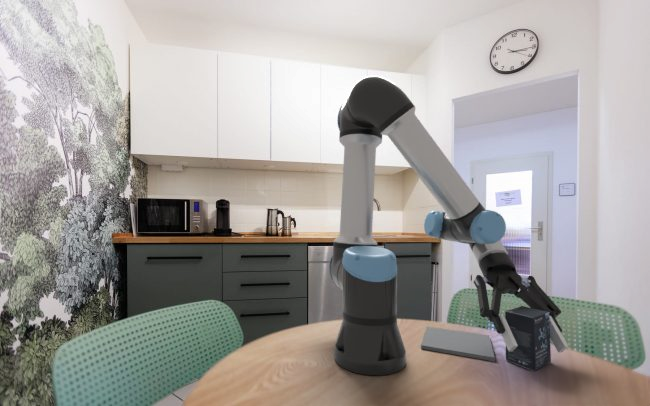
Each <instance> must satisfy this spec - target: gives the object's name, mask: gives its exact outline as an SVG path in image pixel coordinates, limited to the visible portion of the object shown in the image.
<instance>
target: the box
mask: <svg viewBox="0 0 650 406" xmlns="http://www.w3.org/2000/svg"><path fill="white" fill-rule="evenodd" d="M504 312H505V313H504V316H505V319H506V321H507V323H508V325H509V327H510V330H511V332H512V334H513V336H514V338H515V340H516V343H517V345H518V346H517V347H516V348H515V349H514V350H513V351H508V349H507V346H506V345H505V361H506V362H509V363H511V364H514V365H516V366H520V367H522V368H525V369H527V370H529V371H532V372H535V371H537V370H539V369H540V368H542V367H543V366H545V365H547V364H549V363H552V359H551V357H552V355H551V354H552V353H551V351H552V350H551V338H550V318H549V312H546V311H542V310H538V309H533V308H531V307H529V306H524V305H519V306H518V307H515V308H511V309H508V310H505V311H504Z"/></svg>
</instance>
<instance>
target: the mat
mask: <svg viewBox="0 0 650 406" xmlns="http://www.w3.org/2000/svg"><path fill="white" fill-rule="evenodd" d="M420 347H421V348H420V349H421V350H426V351H432V352H439V353H445V354H449V355H454V356H455V355H456V356H462V357H468V358H472V359H473V358H474V359H479V360H484V361H489V362H490V361H491V362H496V356H495V353H494V352H495V351H494V349H493V344H492V342H491V339H490V335H488V334H484V333H483V334H482V333H476V332H469V331H463V330H462V331H461V330H455V329H449V328H447V329H446V328H440V327H433V326H426V328H425V331H424V335H423V338H422V341H421V344H420Z"/></svg>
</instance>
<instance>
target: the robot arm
mask: <svg viewBox="0 0 650 406" xmlns="http://www.w3.org/2000/svg"><path fill="white" fill-rule="evenodd" d="M415 113H416V106H415V105H414V103H413V102H412V101H411V100H410V98H409V96H407V94H406V93H405V92H404V90H402V88H400V87H399V86H398V85H397V84H395V83H394V82H393V81H391V80H390V79H388V78H385V77H383V76H378V75H369V76H365V77H362V78H361V79H359V80H358V81H357V82H356V83H354V84H353V86H352V87H351V88H350V90H349V93H348V95H347V97H346V99H345V100H344V101H343V102H342V104H341V106H340V108H339V110H338V114H337V127H338V129H339V130H338V131H339V139H338V141H339V143H340V144H341V145H342V146H343V148H344V149H343V164H342V165H343V167H342V184H341V186H342V188H341V203H340V204H341V205H340V218H339V219H340V222H339V226H340V227H339V233H338V236H337V237H335V238H334V240H333V246H332V247H333V248H332V255H331V257H330V259H329V263H328V269H329V270H328V271H329V275H330V278H331V280H332V282H333V284H334V285H335V286H336V287H337V288H338V289H339V290H341V292H342V321H341V324H340V328H339V329H338V330H339V331H338V334H337V336H336V337H337V338H336V340H335V343H334V348H333V349H334V350H333V351H334V352H333V353H334V354H333V357H334V361H335V363H337V364H338V366H340V367H342V368H343V369H344V370H347V371H350V372H352V373H355V374H360V375H366V376H367V375H368V376H385V375H392V374H395V373H398V372H399V371H401V370H403V368H405V366H406V364H407V363H406V362H407V351H406V347H405V345H404V340H403V338H402V335H401V332H400V328H399V325H398V271H399V270H398V264H397V257H396V255H395V253H394V252H393V250H392V251H391V250H389V249H387V248H384V247H378V242H377V240H375V239H374V238H373V224H374V223H373V219H374V202H375V201H374V198H375V197H374V196H375V179H376V178H375V176H376V156H377V148H378V147H379V146H380V145H381V144H382V143H383V136H387V137H388V138H389V140H390V141H391V142H392V143H393V145H394V147H396V149H397V150H398V151H399V153H400V154H401V155H402V157H403V158H404V160H406V162H407V163H408V165H409V166H410V168H411V169H412V170H413V172H415V174H416V175H417V177H418V179H420V180H421V182H422V184H424V186H425V187H426V188H427V190H428V191H429V192H430V194H432V196H433V198H434V199H435V200H436V202H437V203H438V204H439V205H440V207H441V208H442V210H432V211H429V212H428V213H427V215H425V216H426V217H425V219H424V224H423V226H424V227H423V229H424V232H425V234H426V235H427V237H430V238H433V239H436V240H444V241H450V242H457V243H461V244H466V245H469V247H470V250H471V252H472V254H473V255H474V258H475V260H476V262H477V264H478V267H479V269H480V271H481V274H482V275H480V274H477V275H476V276H475V278H474V280H473V284H474V286H475V287H476V288H475V289H476V291H477V292H476V293H477V300H478V301H477V302H478V307H479V314H480V317H481V318H487V319H488V321H489V322H490V323H493V326H494V329H495V331H496V333H497V334H500V335H501V336H502V339H503V342H504V344H505V347H506V346H507V349H508V351H513V350H514V349H515V348H516V347H517V346H518V345H517V343H516V340H515V338H514V336H513V334H512V332H511V330H510V327H509V325H508V323H507V321H506V319H505V314H500V309H501V302H502V296H503V295H505V294H509V295H514V296H515V298H517V299H521V301H522V302H524V303H525V304H526V305H527V307H529V308H533V309H538V310H542V311H546V312H549V318H550V341H551V342H552V344H553V345H554V347H555V349H556V352H558V353H563V352H564V351H566V349H568V348H569V347H570V345H568V343H567V341H566V340H565V337H564V336H563V333H562V332H563V329H562V326H560V324H559V322H558V321H557V319H556V318H558V316H560V315H561V313H562V310H561V309H560V308H559V307H558V306H557V305H556V304H555V302H554V301H553V300H552V299H551V297H549V296H548V294H547V293H546V292H545V291H544V290H543V288H541V287H540V286H539V284H538V283H537V281H536V279H535V277H534V276H532V275H528V277H523V276H521V275H520V274H519V273H518V272H517V269H516V266H515V263H514V262H513V260H512V258H511V257H510V255H509V253H508V250H507V249H506V247H505V245H504V244H503V242H502V241H501V240H502V238H503V237H504V236H505V234H506V230H507V224H506V221H505V218H504V217H503V215H501V213H498V212H497V211H494V210H491V209H486V208H485V207H484V206H483V204H482V203H481V202H480V200H479V199H478V198H477V196H476V195H475V194H474V193H473V191H472V190H471V189H470V187H469V186H468V185H467V183H466V182H465V180H464V179H463V178H462V176H461V175H460V174H459V172H458V171H457V170H456V168H455V167H454V166H453V164H452V163H451V161H450V160H449V158H447V156H446V155H445V153H444V152H443V151H442V149H441V148H440V146H439V145H438V143H436V140H434V138H433V137H432V136H431V134H430V133H429V132H428V130H427V129H426V128H425V126H424V125H423V124H422V122H421V121H420V120H419V118H418V117H417V116H416V114H415ZM486 284H487V285H489V287H491V288H492V293H491V296H492V297H491V303H490V302H489V297H488V290H487V285H486Z"/></svg>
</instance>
